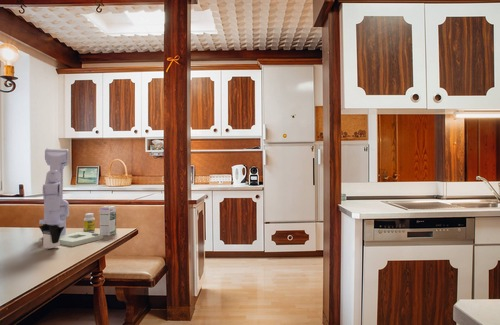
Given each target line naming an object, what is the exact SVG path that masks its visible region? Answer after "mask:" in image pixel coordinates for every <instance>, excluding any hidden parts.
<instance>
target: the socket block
mask: <svg viewBox="0 0 500 325" xmlns="http://www.w3.org/2000/svg"><path fill="white" fill-rule="evenodd" d="M103 239H104V235H102V234H100V233H95V232H92V233H89V232H83V231H76V232H72V233H66V235H61V236H60V246H62V245H63V246H69V247H75V246H80V245H83V244H84V245H85V244H87V243H91V242H95V241H99V240H103Z"/></svg>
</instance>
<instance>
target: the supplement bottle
mask: <svg viewBox="0 0 500 325" xmlns="http://www.w3.org/2000/svg"><path fill="white" fill-rule="evenodd" d="M94 215H95V214H94V213H93V212H88V213H85V214H84V216H85V217H84V218H83V227H82V228H83V231H82V232H89V233H95V228H96V217H94Z"/></svg>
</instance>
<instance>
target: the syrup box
mask: <svg viewBox="0 0 500 325" xmlns="http://www.w3.org/2000/svg"><path fill="white" fill-rule="evenodd" d="M99 234H102V235H103V236H111V235H114V234H117V205H105V206H100V207H99Z"/></svg>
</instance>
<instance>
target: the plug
mask: <svg viewBox="0 0 500 325" xmlns="http://www.w3.org/2000/svg"><path fill="white" fill-rule="evenodd" d="M42 236H43V237H42V238H43V239H42V240H43V241H42V242H43V243H42V244H43V245H42V248H46V249H54V248H58V247H60V246H61V244H60V237H59V241H58V243H52V236H51V232H50V230H46V231H43V233H42Z"/></svg>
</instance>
